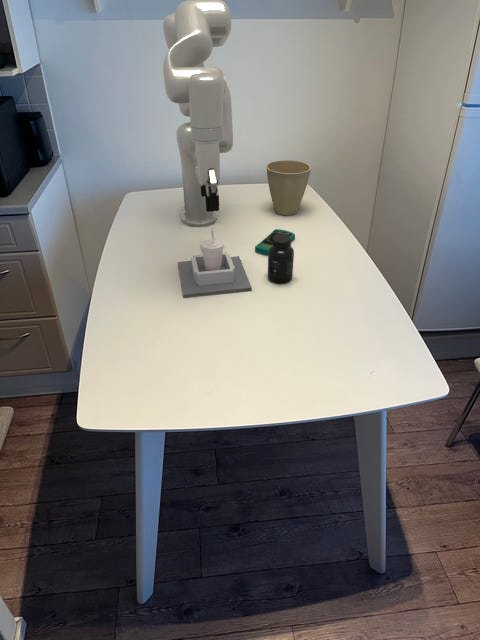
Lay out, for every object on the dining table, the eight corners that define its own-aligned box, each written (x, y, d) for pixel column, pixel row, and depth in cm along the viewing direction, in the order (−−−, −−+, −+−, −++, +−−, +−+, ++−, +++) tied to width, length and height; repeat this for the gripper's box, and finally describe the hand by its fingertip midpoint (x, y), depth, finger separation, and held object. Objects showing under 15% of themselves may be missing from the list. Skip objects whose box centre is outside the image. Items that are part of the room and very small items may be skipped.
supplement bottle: (262, 278, 135) (263, 238, 128) (278, 269, 139) (279, 230, 132) (281, 287, 131) (283, 246, 124) (297, 277, 135) (300, 238, 128)
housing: (177, 264, 141) (176, 250, 138) (239, 259, 144) (238, 245, 141) (183, 297, 127) (182, 282, 124) (251, 290, 129) (251, 276, 127)
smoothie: (207, 283, 131) (204, 235, 123) (198, 272, 135) (195, 225, 127) (228, 277, 133) (228, 230, 125) (219, 267, 138) (217, 221, 130)
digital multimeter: (295, 240, 155) (296, 231, 154) (276, 259, 145) (276, 250, 143) (275, 235, 158) (275, 227, 156) (254, 254, 147) (254, 245, 146)
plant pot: (309, 219, 167) (313, 173, 158) (265, 219, 167) (267, 173, 158) (305, 203, 179) (308, 159, 170) (264, 203, 179) (265, 159, 170)
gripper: (187, 124, 119) (191, 191, 129) (195, 144, 106) (199, 218, 116) (217, 122, 120) (219, 189, 131) (229, 142, 107) (230, 216, 117)
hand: (209, 203), depth 123 cm, fingers open, 9 cm apart
